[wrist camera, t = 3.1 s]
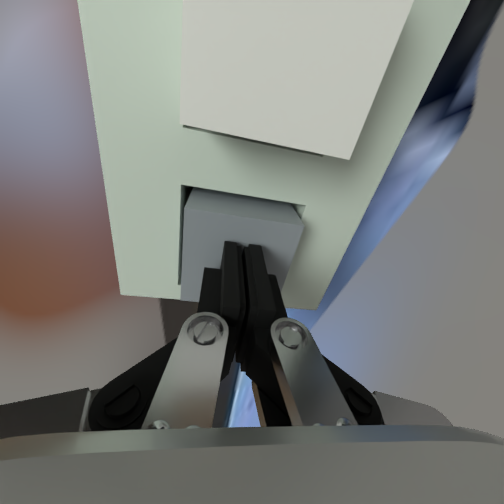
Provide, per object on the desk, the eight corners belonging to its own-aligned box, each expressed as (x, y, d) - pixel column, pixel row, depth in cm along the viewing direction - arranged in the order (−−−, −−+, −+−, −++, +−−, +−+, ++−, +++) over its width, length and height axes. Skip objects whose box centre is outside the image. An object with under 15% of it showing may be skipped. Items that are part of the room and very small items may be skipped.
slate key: (196, 179, 12) (184, 208, 9) (285, 195, 13) (304, 225, 10) (191, 256, 15) (180, 300, 11) (265, 265, 16) (275, 307, 12)
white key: (208, -78, 7) (189, -253, 3) (360, -21, 8) (461, -117, 4) (197, 116, 9) (179, 123, 6) (310, 142, 10) (349, 160, 7)
